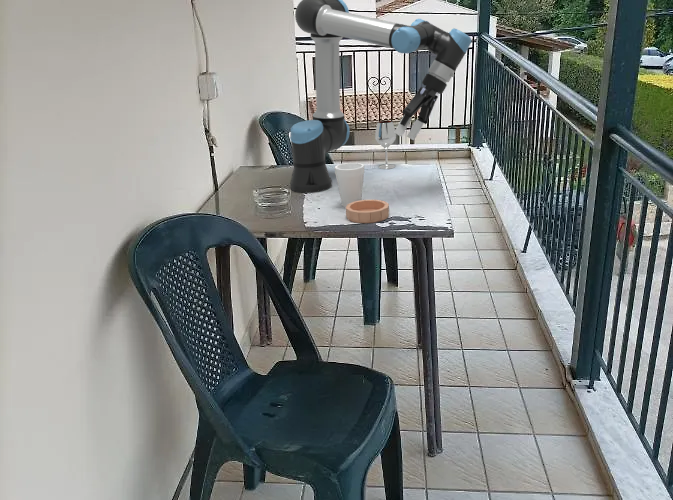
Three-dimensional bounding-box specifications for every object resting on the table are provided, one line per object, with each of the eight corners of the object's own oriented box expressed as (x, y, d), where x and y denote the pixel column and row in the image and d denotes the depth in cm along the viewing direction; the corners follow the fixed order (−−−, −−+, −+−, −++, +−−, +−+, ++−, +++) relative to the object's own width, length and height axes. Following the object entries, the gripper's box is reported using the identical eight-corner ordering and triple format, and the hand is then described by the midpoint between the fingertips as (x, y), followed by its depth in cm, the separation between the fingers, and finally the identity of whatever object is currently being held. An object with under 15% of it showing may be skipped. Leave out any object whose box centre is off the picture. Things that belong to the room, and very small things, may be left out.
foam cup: (345, 211, 204) (343, 171, 199) (332, 204, 211) (329, 166, 207) (371, 205, 208) (369, 166, 203) (357, 198, 215) (355, 161, 211)
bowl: (338, 219, 197) (337, 208, 195) (364, 207, 206) (363, 197, 204) (371, 225, 189) (371, 214, 187) (397, 213, 198) (396, 203, 196)
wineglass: (397, 169, 249) (396, 123, 243) (377, 170, 250) (374, 124, 243) (396, 164, 257) (394, 119, 250) (376, 165, 257) (374, 120, 251)
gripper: (437, 76, 191) (401, 138, 197) (456, 89, 214) (424, 145, 220) (417, 65, 193) (382, 127, 199) (437, 79, 216) (406, 134, 222)
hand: (404, 136), depth 209 cm, fingers open, 13 cm apart
